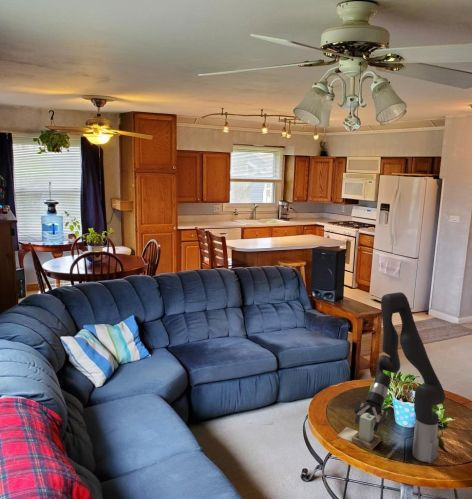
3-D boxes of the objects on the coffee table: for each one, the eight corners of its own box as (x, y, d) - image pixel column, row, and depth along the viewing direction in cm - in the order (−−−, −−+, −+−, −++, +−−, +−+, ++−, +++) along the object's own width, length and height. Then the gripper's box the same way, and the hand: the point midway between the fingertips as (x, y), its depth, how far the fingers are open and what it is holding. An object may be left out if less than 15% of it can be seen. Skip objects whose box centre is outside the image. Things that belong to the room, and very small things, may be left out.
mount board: (380, 442, 208) (380, 436, 207) (371, 452, 200) (371, 446, 200) (346, 429, 219) (346, 423, 218) (336, 438, 211) (337, 432, 211)
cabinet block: (373, 440, 207) (375, 413, 205) (368, 445, 204) (370, 418, 202) (363, 436, 211) (364, 410, 209) (358, 441, 207) (360, 414, 205)
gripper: (360, 386, 214) (348, 418, 207) (390, 396, 205) (378, 430, 198) (365, 393, 219) (353, 424, 212) (394, 403, 210) (382, 436, 203)
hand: (365, 427), depth 205 cm, fingers open, 8 cm apart
